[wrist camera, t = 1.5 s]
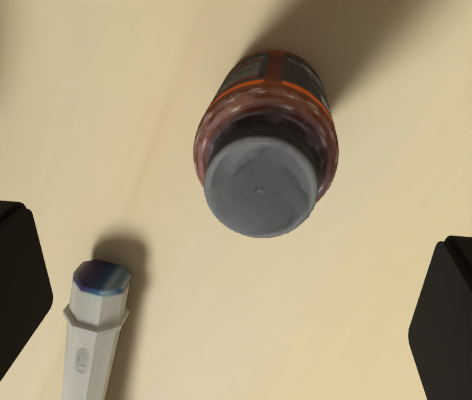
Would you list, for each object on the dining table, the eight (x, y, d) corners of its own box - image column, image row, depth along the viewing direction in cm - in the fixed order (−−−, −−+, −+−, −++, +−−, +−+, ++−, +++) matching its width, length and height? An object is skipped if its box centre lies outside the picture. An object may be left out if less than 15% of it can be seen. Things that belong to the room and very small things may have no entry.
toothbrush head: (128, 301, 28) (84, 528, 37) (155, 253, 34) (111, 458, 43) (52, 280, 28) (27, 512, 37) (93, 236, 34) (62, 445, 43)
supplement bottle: (204, 118, 25) (145, 212, 15) (254, 25, 22) (222, 66, 12) (288, 167, 26) (285, 286, 16) (346, 83, 23) (386, 165, 13)
